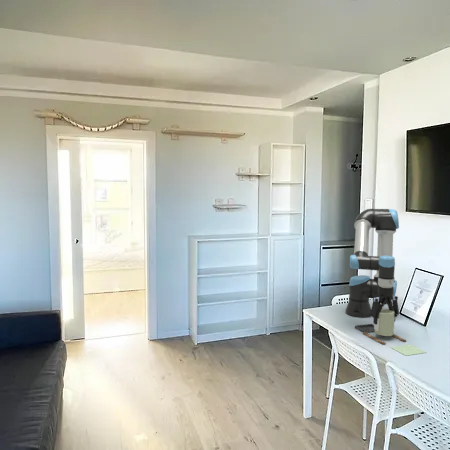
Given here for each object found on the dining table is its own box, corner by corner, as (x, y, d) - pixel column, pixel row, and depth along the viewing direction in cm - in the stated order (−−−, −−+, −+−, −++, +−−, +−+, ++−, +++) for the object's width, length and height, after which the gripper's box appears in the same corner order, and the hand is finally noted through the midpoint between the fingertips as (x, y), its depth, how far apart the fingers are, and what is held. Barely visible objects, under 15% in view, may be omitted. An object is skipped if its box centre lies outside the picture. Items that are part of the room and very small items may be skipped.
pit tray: (354, 328, 219) (355, 325, 219) (371, 326, 222) (371, 323, 222) (364, 333, 211) (364, 330, 211) (381, 331, 215) (381, 328, 214)
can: (397, 335, 201) (398, 312, 200) (379, 336, 200) (380, 313, 199) (388, 329, 210) (389, 307, 209) (371, 329, 209) (372, 307, 208)
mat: (390, 347, 192) (390, 347, 192) (410, 344, 195) (410, 344, 195) (405, 355, 182) (405, 355, 182) (426, 352, 186) (426, 352, 186)
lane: (362, 333, 210) (362, 332, 210) (384, 331, 215) (384, 329, 215) (383, 344, 195) (383, 343, 195) (406, 341, 199) (406, 340, 199)
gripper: (373, 289, 196) (371, 334, 198) (408, 286, 202) (406, 329, 205) (363, 286, 203) (361, 328, 205) (397, 282, 209) (395, 324, 212)
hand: (384, 329), depth 205 cm, fingers closed on can, 9 cm apart
